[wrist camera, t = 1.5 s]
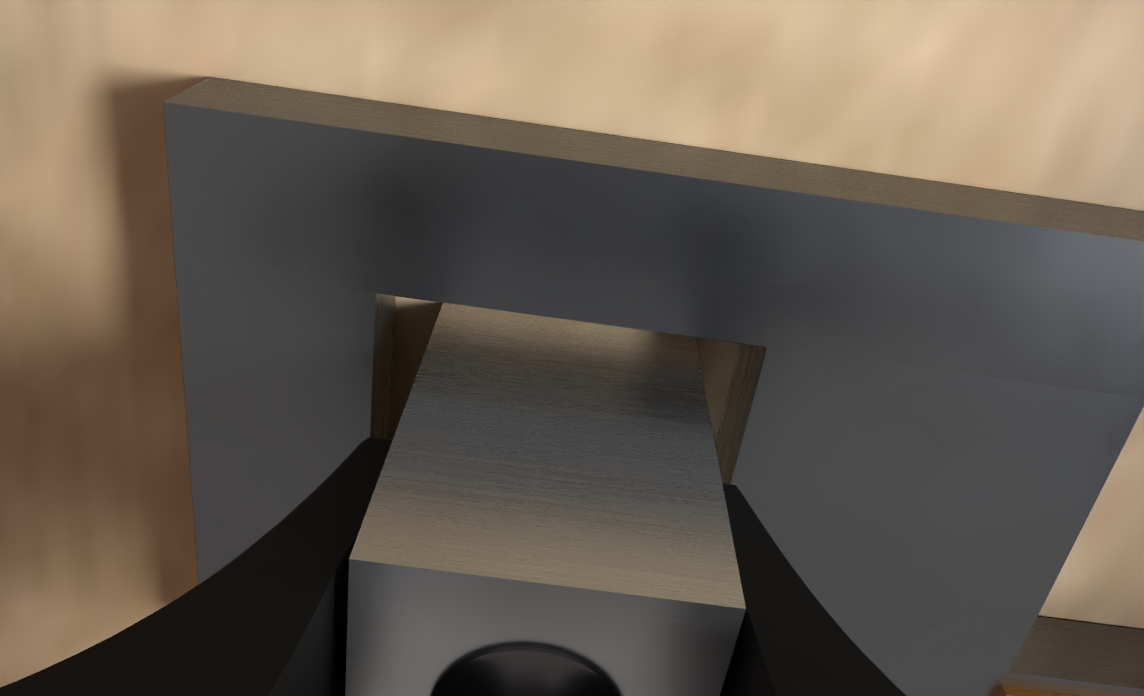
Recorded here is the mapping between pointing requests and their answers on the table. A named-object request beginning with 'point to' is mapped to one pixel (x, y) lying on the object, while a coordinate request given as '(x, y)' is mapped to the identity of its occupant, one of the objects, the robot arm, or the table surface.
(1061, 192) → the table surface
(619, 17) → the table surface
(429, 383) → the nut block
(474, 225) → the rail
